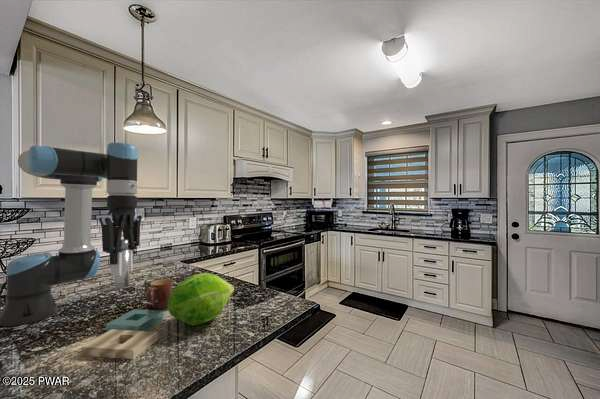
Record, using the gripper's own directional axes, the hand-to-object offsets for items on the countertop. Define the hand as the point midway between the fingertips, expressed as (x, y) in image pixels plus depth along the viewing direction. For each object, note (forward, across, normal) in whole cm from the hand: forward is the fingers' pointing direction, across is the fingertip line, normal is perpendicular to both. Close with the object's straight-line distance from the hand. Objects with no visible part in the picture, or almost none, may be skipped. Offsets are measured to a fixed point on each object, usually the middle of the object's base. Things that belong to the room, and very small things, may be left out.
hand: (122, 272), depth 76 cm
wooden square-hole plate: (+22, 0, 0) cm, 22 cm away
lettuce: (+22, +19, -16) cm, 33 cm away
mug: (+22, +28, +8) cm, 37 cm away
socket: (+22, +13, +6) cm, 26 cm away
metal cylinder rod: (+4, 0, 0) cm, 4 cm away
